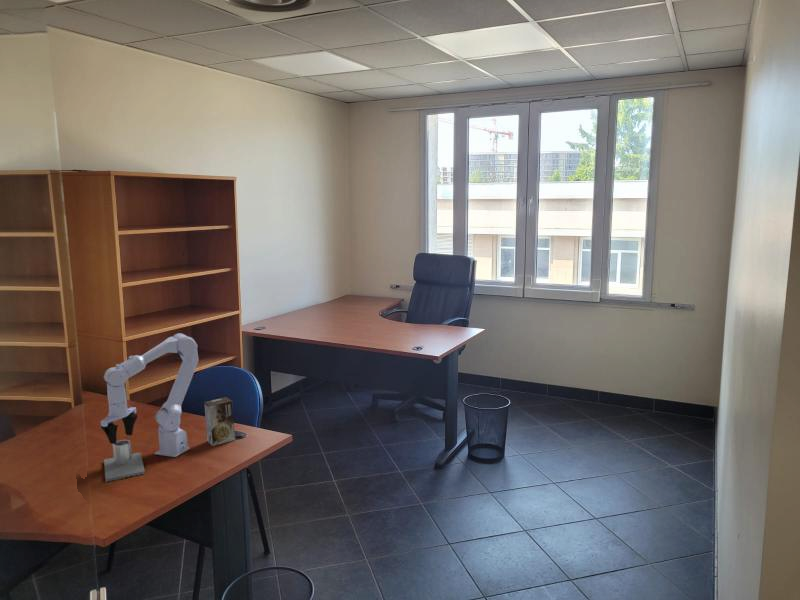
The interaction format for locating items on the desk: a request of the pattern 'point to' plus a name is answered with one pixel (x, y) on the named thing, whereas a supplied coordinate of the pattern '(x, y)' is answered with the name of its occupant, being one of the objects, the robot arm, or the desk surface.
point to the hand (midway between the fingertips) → (121, 439)
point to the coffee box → (219, 421)
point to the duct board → (123, 468)
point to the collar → (122, 452)
